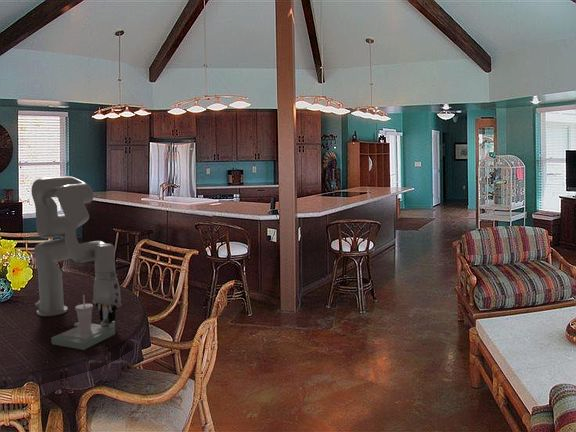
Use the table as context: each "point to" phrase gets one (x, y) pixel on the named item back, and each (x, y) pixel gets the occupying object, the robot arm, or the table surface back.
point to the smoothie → (84, 315)
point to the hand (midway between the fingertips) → (107, 319)
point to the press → (83, 336)
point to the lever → (106, 317)
